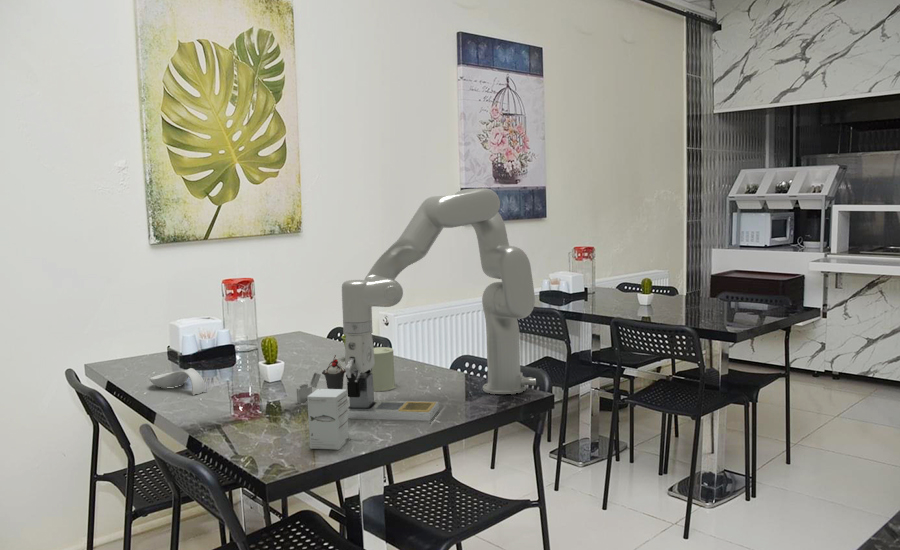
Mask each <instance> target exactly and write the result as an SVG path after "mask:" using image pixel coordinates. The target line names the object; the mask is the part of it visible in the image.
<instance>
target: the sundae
mask: <svg viewBox="0 0 900 550" xmlns="http://www.w3.org/2000/svg"><path fill="white" fill-rule="evenodd" d="M336 357H337V354H335V355H334V356H333V360H332V361H330V363H329V364H328V367H326V369H324V370H323V371H322V372H321V375H324V377H325V383H326V389H344V377H345V374H346V371H345V368H343V366H342V364H341V362H339V361H338V359H336Z"/></svg>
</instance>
